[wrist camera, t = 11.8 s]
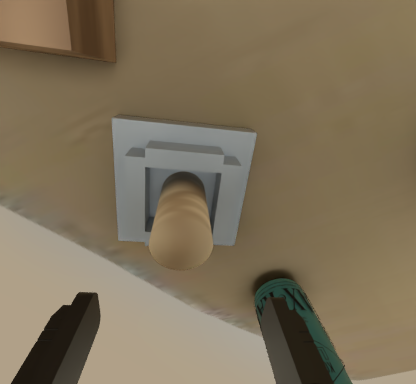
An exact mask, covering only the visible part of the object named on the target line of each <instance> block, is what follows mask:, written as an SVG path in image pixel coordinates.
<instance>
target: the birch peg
mask: <svg viewBox="0 0 416 384" xmlns="http://www.w3.org/2000/svg"><path fill="white" fill-rule="evenodd" d="M212 249H213V238H212V232H211V225H210V219H209V213H208V206H207V200H206V194H205V188H204V184H203V182H202V181H201V179H200V178H199V177H198V176H196V175H195V174H193V173H190V172H185V171H181V172H176V173H173V174H172V175H170V176H169V177H168V178H167V179H166V180H165V181H164V183H163V186H162V190H161V194H160V198H159V202H158V206H157V210H156V215H155V219H154V223H153V227H152V231H151V235H150V239H149V250H150V253H151V255H152V257H153V258H154V259H155V261H157V262H158V263H159V264H160V265H162V266H164V267H166V268H169V269H173V270H188V269H192V268H195V267H197V266H199V265H201V264H202V263H204V262H205V261H206V260H207V259H208V258H209V256H210V254H211V252H212Z"/></svg>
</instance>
